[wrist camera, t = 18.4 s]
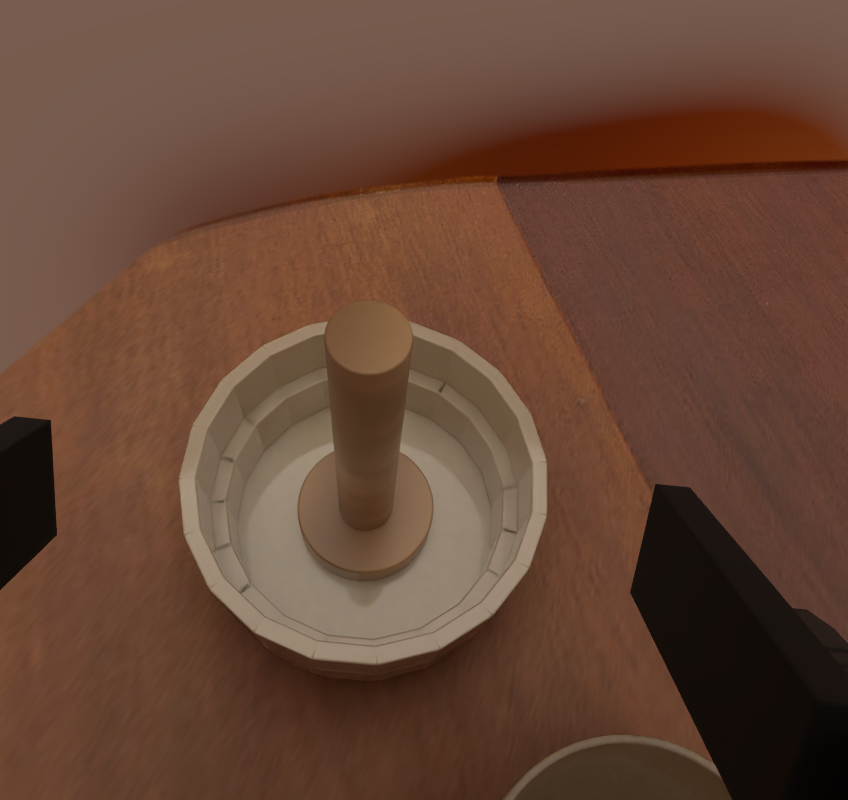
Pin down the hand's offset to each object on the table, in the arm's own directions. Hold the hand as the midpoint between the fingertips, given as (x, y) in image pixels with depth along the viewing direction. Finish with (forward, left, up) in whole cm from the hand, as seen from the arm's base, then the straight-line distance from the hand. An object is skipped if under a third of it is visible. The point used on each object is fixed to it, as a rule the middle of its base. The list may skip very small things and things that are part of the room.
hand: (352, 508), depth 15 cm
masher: (0, -4, -14) cm, 15 cm away
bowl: (0, -4, -15) cm, 16 cm away
